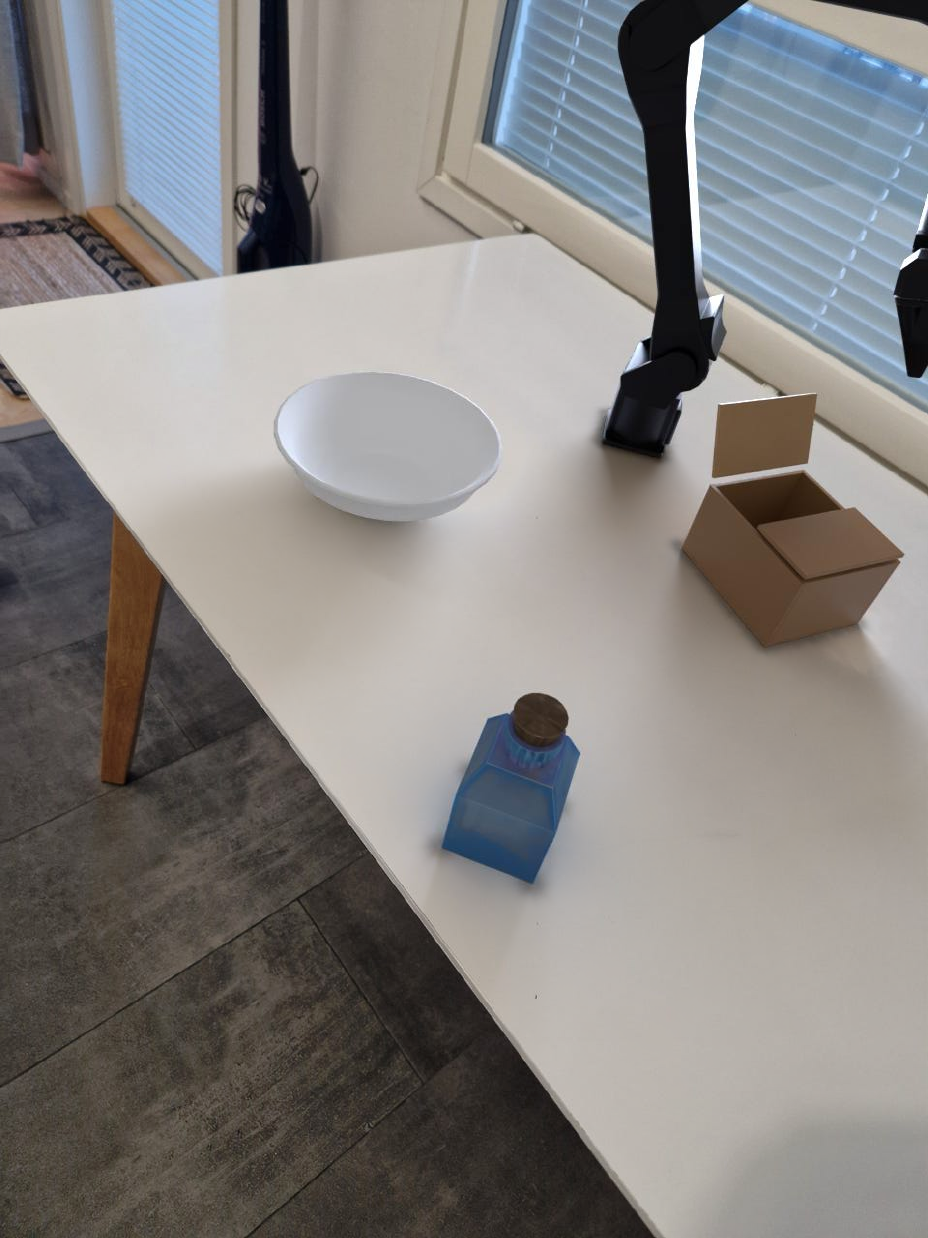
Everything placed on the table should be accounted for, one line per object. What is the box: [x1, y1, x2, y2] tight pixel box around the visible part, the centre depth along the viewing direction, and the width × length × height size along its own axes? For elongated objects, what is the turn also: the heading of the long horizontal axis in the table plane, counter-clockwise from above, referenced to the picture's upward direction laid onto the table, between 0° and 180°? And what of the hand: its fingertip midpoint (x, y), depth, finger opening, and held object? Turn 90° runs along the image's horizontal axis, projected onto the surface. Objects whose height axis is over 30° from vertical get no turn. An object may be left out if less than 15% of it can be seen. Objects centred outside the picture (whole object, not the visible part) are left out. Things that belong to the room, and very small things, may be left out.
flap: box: [711, 392, 818, 479], centre depth 76 cm, size 6×11×1 cm
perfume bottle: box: [440, 692, 581, 885], centre depth 53 cm, size 6×6×12 cm
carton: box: [681, 469, 905, 648], centre depth 76 cm, size 13×11×8 cm
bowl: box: [273, 370, 503, 522], centre depth 77 cm, size 20×20×6 cm
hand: (919, 360), depth 76 cm, fingers open, 9 cm apart
